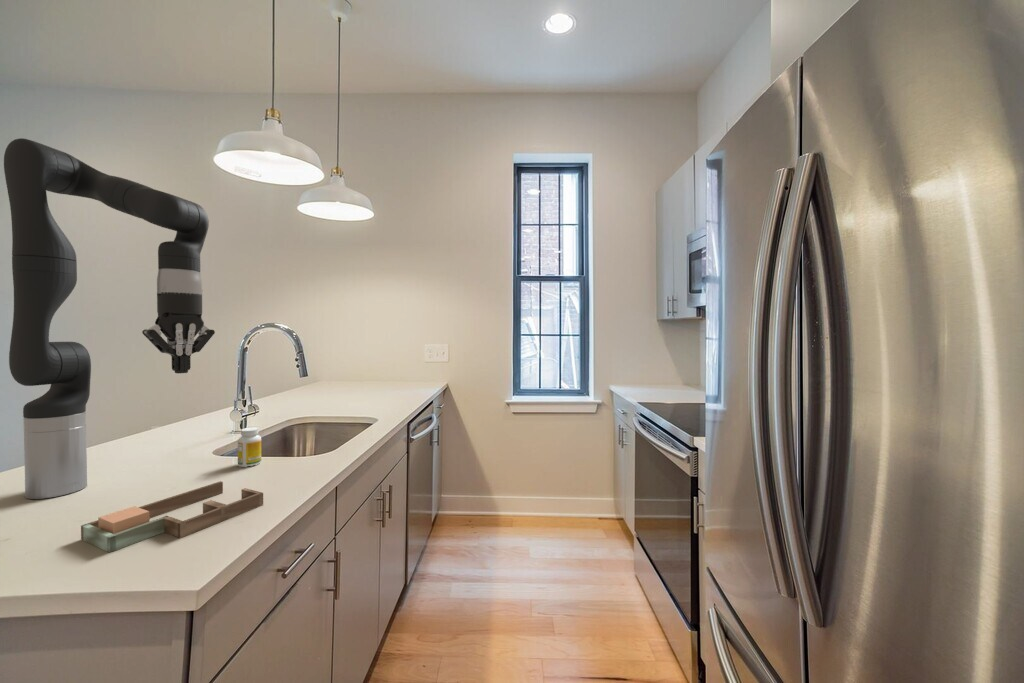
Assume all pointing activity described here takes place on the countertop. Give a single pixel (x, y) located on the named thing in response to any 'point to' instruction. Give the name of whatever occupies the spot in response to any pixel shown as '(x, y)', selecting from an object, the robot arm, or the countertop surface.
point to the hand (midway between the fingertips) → (181, 372)
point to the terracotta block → (123, 519)
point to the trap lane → (178, 528)
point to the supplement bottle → (249, 447)
